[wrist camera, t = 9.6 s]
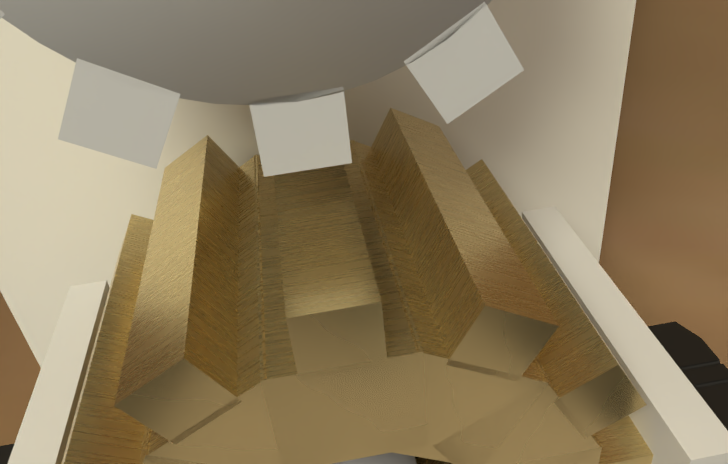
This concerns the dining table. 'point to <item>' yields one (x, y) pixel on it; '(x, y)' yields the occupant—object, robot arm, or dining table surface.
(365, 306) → the brass gear
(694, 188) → the dining table surface
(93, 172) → the gear board
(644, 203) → the dining table surface
